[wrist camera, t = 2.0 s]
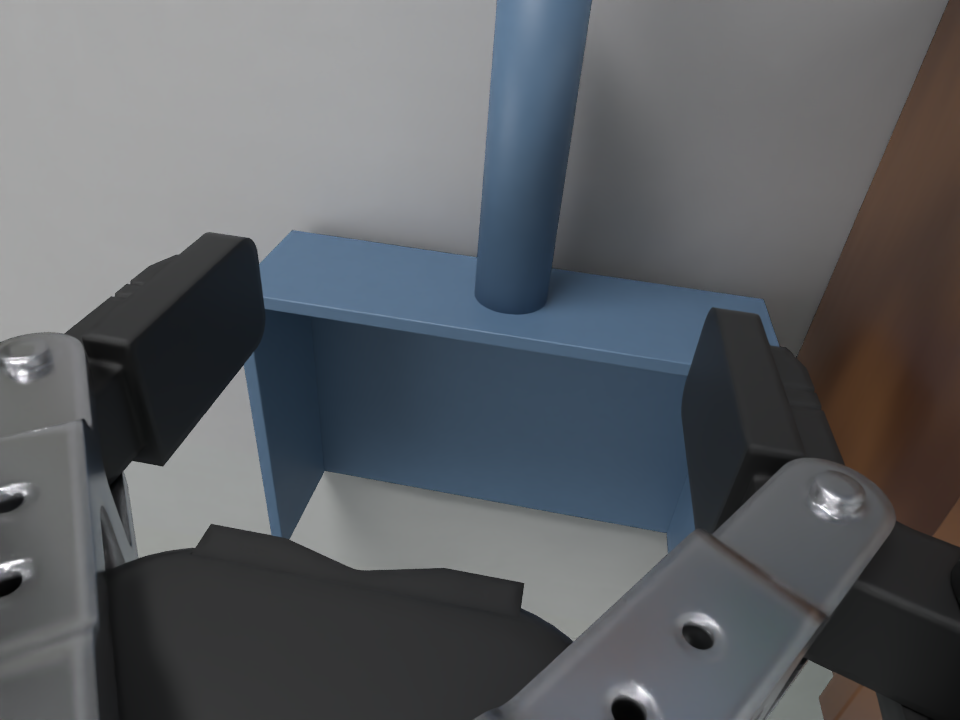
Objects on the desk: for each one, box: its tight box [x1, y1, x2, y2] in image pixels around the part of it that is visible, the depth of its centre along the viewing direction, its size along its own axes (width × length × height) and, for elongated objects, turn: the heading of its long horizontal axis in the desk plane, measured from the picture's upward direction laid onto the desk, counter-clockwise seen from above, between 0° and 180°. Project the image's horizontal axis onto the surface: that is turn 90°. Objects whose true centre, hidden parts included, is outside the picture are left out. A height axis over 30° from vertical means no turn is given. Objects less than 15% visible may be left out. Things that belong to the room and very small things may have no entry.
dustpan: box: [244, 0, 780, 553], centre depth 19 cm, size 20×14×4 cm
